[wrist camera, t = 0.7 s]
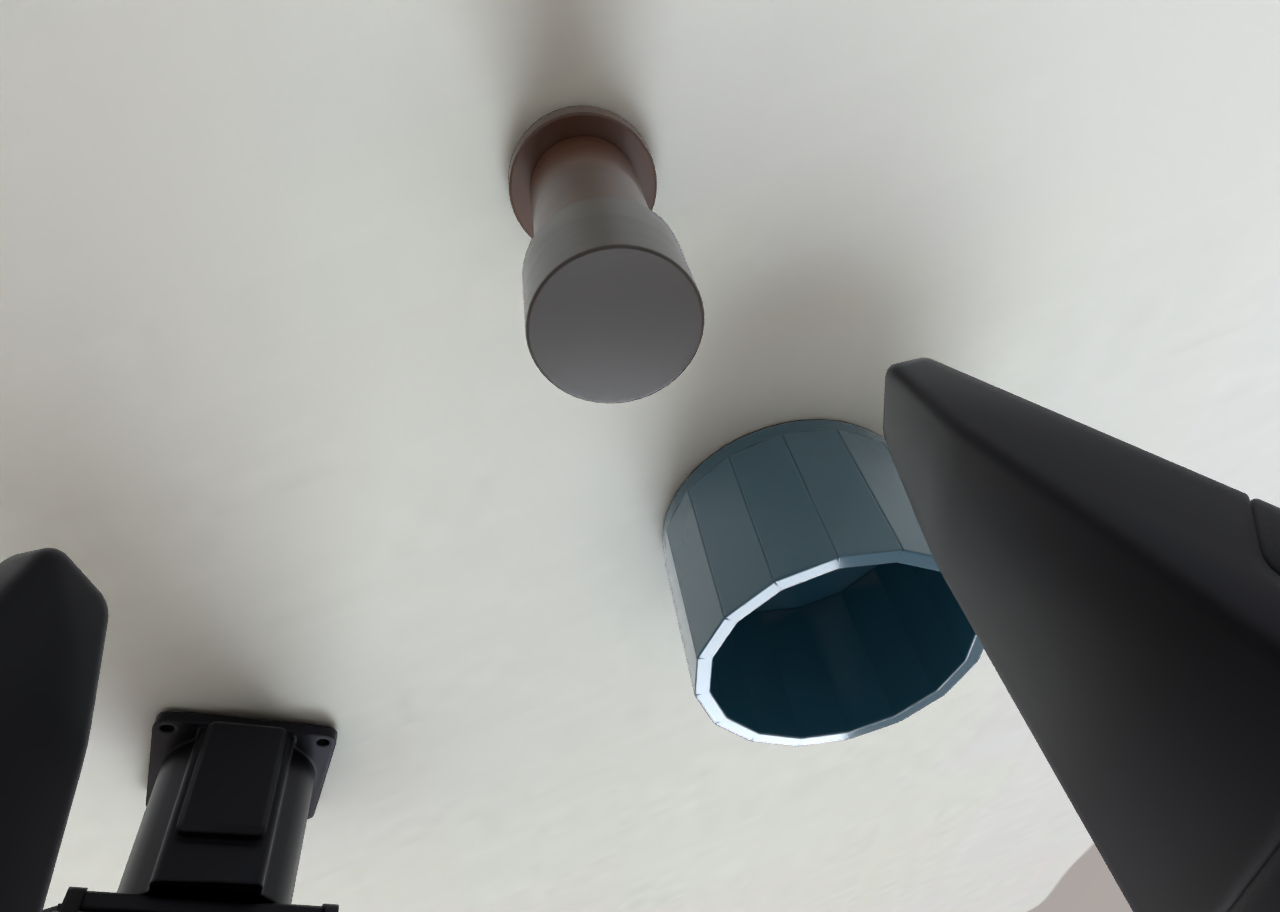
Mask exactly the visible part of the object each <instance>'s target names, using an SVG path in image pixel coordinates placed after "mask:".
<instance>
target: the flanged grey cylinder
mask: <svg viewBox="0 0 1280 912" xmlns="http://www.w3.org/2000/svg"><path fill="white" fill-rule="evenodd" d="M656 190H657V179H656V171H655V166H654V163H653V160H652V157H651V155H650V153H649V150H648V148H647V146H646V144H645V142H644V141H643V139H642V138H641V136H640V135H639V133H638V132H637V131H636V130H635V129H634V128H633V127H632V126H631V125H630V124H629V123H628V122H627V121H625V120H624V119H622V118H621V117H619V116H618V115H616V114H614V113H612V112H610V111H607V110H604V109H601V108H597V107H590V106H573V107H567V108H563V109H559V110H556V111H554V112H551V113H549V114H547V115H546V116H544V117H542V118H541V119H539V120H538V121H537V122H535V123H534V124H533V125H532V126H531V127H530V128H529V129H528V130H527V131H526V132H525V133H524V135H523V136H522V138H521V139H520V140H519V142H518V144H517V146H516V148H515V150H514V153H513V155H512V158H511V163H510V167H509V195H510V201H511V205H512V208H513V211H514V213H515V216H516V218H517V220H518V222H519V223H520V225H521V226H522V228H523V229H524V230H525V232H526V233H527V234H528V235H529V236H530V237H531V238H532V240H531V242H530V244H529V246H528V249H527V251H526V254H525V258H524V262H523V271H522V276H523V296H524V313H525V331H526V339H527V345H528V348H529V351H530V354H531V356H532V358H533V360H534V362H535V364H536V366H537V367H538V368H539V370H540V371H541V373H542V374H543V375H544V376H545V377H546V378H547V379H548V380H549V381H550V382H551V383H553V384H554V385H555V386H556V387H558V388H559V389H561V390H563V391H564V392H566V393H568V394H570V395H572V396H574V397H577V398H580V399H583V400H587V401H592V402H597V403H622V402H629V401H633V400H637V399H641V398H643V397H646V396H649V395H651V394H653V393H655V392H657V391H659V390H661V389H662V388H664V387H666V386H667V385H669V384H670V383H671V382H672V381H674V380H675V379H676V378H677V377H678V376H679V375H680V374H681V373H682V372H683V371H684V370H685V369H686V367H687V366H688V365H689V363H690V362H691V360H692V359H693V357H694V355H695V354H696V352H697V349H698V347H699V344H700V342H701V338H702V335H703V329H704V308H703V302H702V299H701V296H700V293H699V290H698V288H697V286H696V283H695V281H694V279H693V276H692V274H691V271H690V269H689V267H688V264H687V262H686V260H685V257H684V255H683V252H682V250H681V248H680V245H679V243H678V241H677V239H676V237H675V235H674V233H673V232H672V230H671V229H670V227H669V226H668V225H667V224H666V223H665V222H664V221H663V219H662V218H661V217H659V216H658V215H657V214H656V213H654V212H653V211H652V209H653V206H654V202H655V198H656Z"/></svg>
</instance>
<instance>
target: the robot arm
mask: <svg viewBox="0 0 1280 912" xmlns="http://www.w3.org/2000/svg"><path fill="white" fill-rule="evenodd" d="M883 430H884V437H885V441H886V445H887V447H888V450H889V452H890V455H891V457H892V460H893V462H894V465H895V467H896V469H897V472H898V474H899V477H900V479H901V481H902V484H903V486H904V489H905V491H906V494H907V496H908V498H909V501H910V503H911V506H912V508H913V511H914V513H915V515H916V518H917V520H918V523H919V525H920V528H921V530H922V532H923V535H924V537H925V540H926V542H927V544H928V547H929V549H930V551H931V553H932V556H933V558H934V560H935V562H936V564H937V566H938V568H939V570H940V571H941V573H942V575H943V577H944V579H945V581H946V582H947V584H948V586H949V588H950V590H951V591H952V593H953V595H954V597H955V598H956V600H957V602H958V604H959V605H960V607H961V609H962V611H963V612H964V614H965V616H966V618H967V620H968V621H969V623H970V625H971V627H972V628H973V630H974V632H975V634H976V635H977V637H978V639H979V641H980V642H981V644H982V646H983V648H984V649H985V651H986V653H987V655H988V657H989V658H990V660H991V662H992V664H993V665H994V667H995V669H996V671H997V672H998V674H999V676H1000V678H1001V679H1002V681H1003V683H1004V685H1005V687H1006V688H1007V690H1008V692H1009V694H1010V695H1011V697H1012V699H1013V701H1014V702H1015V704H1016V706H1017V708H1018V709H1019V711H1020V713H1021V715H1022V717H1023V718H1024V720H1025V722H1026V724H1027V725H1028V727H1029V729H1030V731H1031V732H1032V734H1033V736H1034V738H1035V739H1036V741H1037V743H1038V745H1039V746H1040V748H1041V750H1042V752H1043V754H1044V755H1045V757H1046V759H1047V761H1048V762H1049V764H1050V766H1051V768H1052V769H1053V771H1054V773H1055V775H1056V776H1057V778H1058V780H1059V782H1060V784H1061V785H1062V787H1063V789H1064V791H1065V792H1066V794H1067V796H1068V798H1069V799H1070V801H1071V803H1072V805H1073V806H1074V808H1075V810H1076V812H1077V814H1078V815H1079V817H1080V819H1081V821H1082V822H1083V824H1084V826H1085V828H1086V829H1087V831H1088V833H1089V835H1090V836H1091V838H1092V840H1093V842H1094V843H1095V845H1096V847H1097V849H1098V851H1099V852H1100V854H1101V856H1102V858H1103V859H1104V861H1105V863H1106V865H1107V866H1108V868H1109V870H1110V872H1111V873H1112V875H1113V877H1114V879H1115V881H1116V882H1117V884H1118V886H1119V887H1120V889H1121V891H1122V893H1123V895H1124V896H1125V898H1126V900H1127V901H1128V903H1129V905H1130V907H1131V909H1132V911H1133V912H1280V508H1278V507H1276V506H1274V505H1271V504H1269V503H1267V502H1264V501H1262V500H1260V499H1253V500H1251V501H1250V499H1249V497H1248V495H1247V494H1245V493H1243V492H1240V491H1238V490H1236V489H1233V488H1231V487H1229V486H1226V485H1224V484H1222V483H1219V482H1217V481H1215V480H1212V479H1210V478H1208V477H1205V476H1203V475H1201V474H1198V473H1196V472H1194V471H1191V470H1189V469H1187V468H1184V467H1182V466H1180V465H1177V464H1175V463H1173V462H1170V461H1168V460H1166V459H1163V458H1161V457H1159V456H1156V455H1154V454H1152V453H1149V452H1147V451H1145V450H1142V449H1140V448H1138V447H1135V446H1133V445H1131V444H1128V443H1126V442H1124V441H1121V440H1119V439H1117V438H1114V437H1112V436H1110V435H1107V434H1105V433H1103V432H1100V431H1098V430H1096V429H1093V428H1091V427H1089V426H1086V425H1084V424H1082V423H1079V422H1077V421H1075V420H1072V419H1070V418H1068V417H1065V416H1063V415H1061V414H1058V413H1056V412H1054V411H1051V410H1049V409H1047V408H1044V407H1042V406H1040V405H1037V404H1035V403H1033V402H1030V401H1028V400H1026V399H1023V398H1021V397H1019V396H1016V395H1014V394H1012V393H1009V392H1007V391H1005V390H1002V389H1000V388H998V387H995V386H993V385H990V384H988V383H986V382H983V381H981V380H979V379H976V378H974V377H972V376H969V375H967V374H965V373H962V372H960V371H958V370H955V369H953V368H951V367H948V366H946V365H944V364H941V363H939V362H937V361H934V360H932V359H929V358H919V359H914V360H910V361H905V362H901V363H896V364H893V365H891V366H890V367H889V368H888V370H887V373H886V376H885V393H884V418H883ZM107 624H108V607H107V603H106V601H105V599H104V597H103V595H102V594H101V592H100V591H99V590H98V589H97V588H96V587H95V586H94V585H93V584H92V582H91V581H90V580H89V579H88V578H87V577H86V576H85V575H84V574H83V573H82V571H81V570H80V569H79V568H78V567H77V566H76V565H75V564H74V563H73V561H72V560H71V559H70V558H69V557H68V556H67V555H66V554H65V553H64V552H62V551H60V550H58V549H55V548H44V549H39V550H35V551H30V552H25V553H21V554H17V555H14V556H11V557H9V558H7V559H6V560H4V561H3V562H2V563H0V912H338V909H339V905H336V904H323V905H322V906H309V905H293V904H291V902H292V897H293V892H294V886H295V881H296V876H297V870H298V865H299V859H300V854H301V849H302V843H303V838H304V833H305V827H306V822H307V819H310V818H311V817H313V815H314V813H315V810H316V806H317V803H318V800H319V797H320V794H321V790H322V787H323V784H324V781H325V777H326V774H327V771H328V768H329V764H330V761H331V758H332V755H333V751H334V748H335V745H336V740H337V731H336V730H335V729H333V728H331V727H326V726H316V725H306V724H296V723H286V722H275V721H265V720H255V719H244V718H234V717H224V716H214V715H203V714H193V713H183V712H173V711H166V712H162V713H160V714H158V715H157V717H156V719H155V722H154V725H153V728H152V740H151V751H150V763H149V774H148V785H147V797H146V806H147V808H146V810H145V813H144V816H143V819H142V822H141V825H140V828H139V830H138V833H137V836H136V839H135V842H134V845H133V848H132V851H131V853H130V856H129V859H128V862H127V865H126V868H125V871H124V873H123V876H122V879H121V882H120V885H119V888H118V891H117V893H110V892H95V891H87V889H88V888H81V887H69V889H68V891H67V893H66V896H65V898H64V900H63V903H62V904H58V906H54V907H51V908H48V909H45V910H43V907H44V903H45V900H46V896H47V892H48V889H49V885H50V882H51V878H52V874H53V871H54V867H55V863H56V860H57V856H58V853H59V849H60V845H61V842H62V838H63V834H64V831H65V827H66V824H67V820H68V816H69V813H70V809H71V805H72V802H73V798H74V795H75V791H76V787H77V784H78V780H79V777H80V773H81V769H82V765H83V761H84V757H85V753H86V749H87V745H88V740H89V734H90V729H91V724H92V717H93V711H94V705H95V699H96V692H97V686H98V680H99V674H100V667H101V661H102V655H103V649H104V642H105V636H106V630H107Z"/></svg>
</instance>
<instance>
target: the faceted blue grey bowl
mask: <svg viewBox="0 0 1280 912" xmlns="http://www.w3.org/2000/svg"><path fill="white" fill-rule="evenodd" d="M663 544H664V551H665V566H666V570H667V575H668V579H669V584H670V588H671V592H672V597H673V601H674V606H675V610H676V615H677V619H678V624H679V628H680V633H681V637H682V641H683V646H684V650H685V655H686V659H687V664H688V668H689V673H690V677H691V682H692V686H693V690H694V695H695V696H696V698H697V699H698V701H699V702H700V704H701V705H702V707H703V708H704V710H705V711H706V713H707V714H708V716H709V717H710V719H711V720H712V722H713V723H715V724H716V725H718V726H720V727H722V728H724V729H726V730H728V731H730V732H732V733H734V734H736V735H739V736H741V737H743V738H745V739H747V740H749V741H750V740H751V741H754V742H763V743H772V744H781V745H790V746H803V745H810V744H818V743H826V742H833V741H841V740H847V739H852V738H855V737H857V736H860V735H863V734H866V733H869V732H872V731H875V730H878V729H881V728H883V727H886V726H889V725H892V724H895V723H898V722H899V721H902V720H904V719H905V718H907V717H909V716H910V715H912V714H914V713H915V712H917V711H919V710H920V709H922V708H924V707H925V706H927V705H929V704H930V703H932V702H934V701H935V700H937V699H939V698H940V697H942V696H944V695H945V694H946V693H947V692H948V691H949V690H950V689H951V688H952V687H953V686H954V685H955V684H956V683H957V682H958V681H959V680H960V679H961V678H962V677H963V676H964V675H965V674H966V673H967V672H968V671H969V670H970V669H971V668H972V667H973V666H974V665H975V664H976V663H977V662H978V660H979V658H980V656H981V654H982V651H983V649H984V648H983V646H982V644H981V642H980V641H979V639H978V637H977V635H976V634H975V632H974V630H973V628H972V627H971V625H970V623H969V621H968V620H967V618H966V616H965V614H964V612H963V611H962V609H961V607H960V605H959V604H958V602H957V600H956V598H955V597H954V595H953V593H952V591H951V590H950V588H949V586H948V584H947V582H946V581H945V579H944V577H943V575H942V573H941V571H940V570H939V568H938V566H937V564H936V562H935V560H934V558H933V556H932V553H931V551H930V549H929V547H928V544H927V542H926V540H925V537H924V535H923V532H922V530H921V528H920V525H919V523H918V520H917V518H916V515H915V513H914V511H913V508H912V506H911V503H910V501H909V498H908V496H907V494H906V491H905V489H904V486H903V484H902V481H901V479H900V477H899V474H898V472H897V469H896V467H895V465H894V462H893V460H892V457H891V455H890V452H889V450H888V447H887V445H886V441H885V439H884V438H883V437H881V436H879V435H878V434H876V433H874V432H872V431H870V430H868V429H865V428H862V427H860V426H857V425H854V424H849V423H845V422H840V421H830V420H802V421H795V422H788V423H783V424H779V425H775V426H771V427H767V428H764V429H762V430H759V431H756V432H753V433H750V434H748V435H746V436H744V437H742V438H740V439H738V440H735V441H733V442H732V443H730V444H728V445H727V446H725V447H723V448H722V449H720V450H718V451H717V452H716V453H714V454H713V455H712V456H710V457H709V458H708V459H706V460H705V461H704V462H703V463H702V464H701V465H700V466H699V467H698V468H697V469H695V470H694V471H693V472H692V473H691V475H690V476H689V477H688V478H687V479H686V481H685V482H684V483H683V484H682V486H681V487H680V489H679V490H678V492H677V493H676V495H675V496H674V498H673V501H672V503H671V505H670V507H669V509H668V512H667V516H666V519H665V523H664V530H663Z"/></svg>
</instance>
